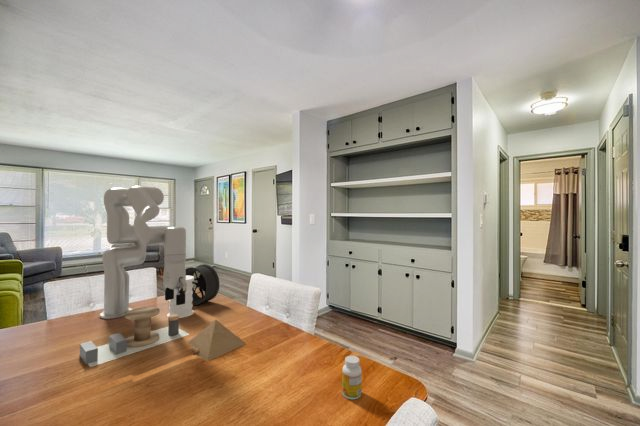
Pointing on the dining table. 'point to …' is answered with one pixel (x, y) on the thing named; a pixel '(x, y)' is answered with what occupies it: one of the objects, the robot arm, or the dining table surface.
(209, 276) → the wheel rim
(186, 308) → the decorative container
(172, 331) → the plug
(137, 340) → the bobbin
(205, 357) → the model pyramid
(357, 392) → the supplement bottle
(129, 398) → the dining table surface
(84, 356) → the terminal block
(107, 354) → the base board
